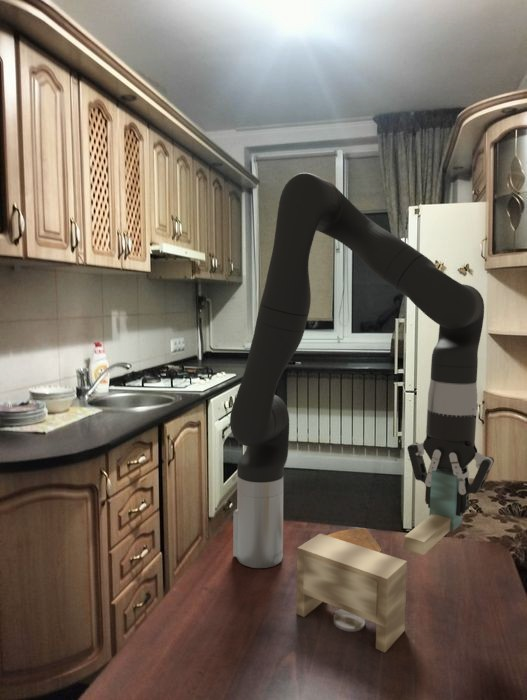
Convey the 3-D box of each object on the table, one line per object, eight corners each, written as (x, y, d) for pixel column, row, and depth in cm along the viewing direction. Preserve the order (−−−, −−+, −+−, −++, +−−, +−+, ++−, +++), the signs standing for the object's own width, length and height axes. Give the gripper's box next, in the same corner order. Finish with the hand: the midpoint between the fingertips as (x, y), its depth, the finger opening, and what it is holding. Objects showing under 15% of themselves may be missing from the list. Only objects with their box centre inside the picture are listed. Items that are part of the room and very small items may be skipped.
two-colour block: (400, 548, 81) (403, 489, 80) (437, 516, 93) (440, 465, 92) (426, 556, 79) (429, 496, 78) (461, 523, 91) (464, 470, 90)
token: (327, 625, 89) (327, 618, 89) (344, 611, 93) (344, 604, 92) (354, 637, 86) (354, 630, 85) (370, 622, 89) (370, 615, 89)
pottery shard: (321, 541, 120) (322, 530, 119) (357, 533, 124) (357, 522, 123) (348, 562, 110) (349, 550, 110) (386, 553, 114) (386, 541, 114)
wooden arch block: (295, 614, 91) (296, 548, 90) (319, 596, 97) (320, 533, 96) (384, 653, 81) (386, 579, 80) (404, 630, 87) (406, 561, 86)
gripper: (400, 405, 90) (395, 506, 91) (490, 419, 81) (483, 530, 83) (418, 399, 96) (414, 494, 97) (504, 411, 87) (497, 515, 89)
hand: (446, 510), depth 90 cm, fingers closed on two-colour block, 4 cm apart
